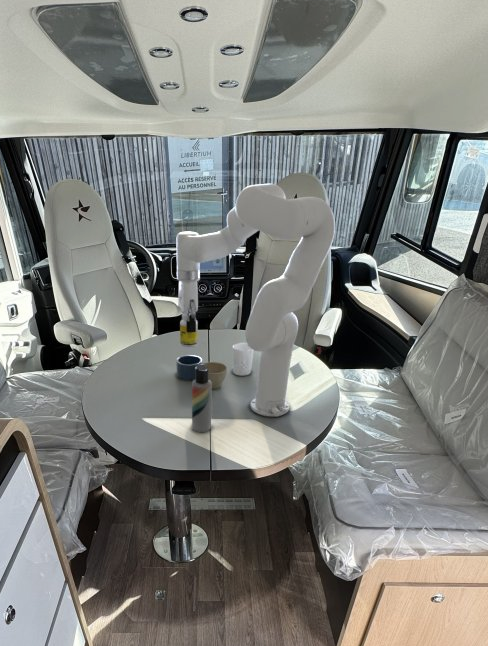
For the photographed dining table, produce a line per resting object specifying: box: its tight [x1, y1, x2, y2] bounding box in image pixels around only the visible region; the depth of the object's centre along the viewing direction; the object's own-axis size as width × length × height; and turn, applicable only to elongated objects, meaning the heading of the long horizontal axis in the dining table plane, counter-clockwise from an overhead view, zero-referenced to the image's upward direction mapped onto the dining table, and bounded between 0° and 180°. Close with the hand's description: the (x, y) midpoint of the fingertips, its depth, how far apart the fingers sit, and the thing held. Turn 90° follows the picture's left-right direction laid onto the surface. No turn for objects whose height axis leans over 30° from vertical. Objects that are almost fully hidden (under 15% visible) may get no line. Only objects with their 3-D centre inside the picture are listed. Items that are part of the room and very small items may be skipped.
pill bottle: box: [179, 312, 199, 348], centre depth 156 cm, size 6×6×11 cm
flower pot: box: [202, 361, 228, 390], centre depth 156 cm, size 10×10×7 cm
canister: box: [175, 354, 203, 381], centre depth 164 cm, size 9×9×6 cm
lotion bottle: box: [191, 363, 213, 433], centre depth 129 cm, size 6×6×20 cm
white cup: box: [232, 342, 255, 377], centre depth 165 cm, size 8×8×10 cm
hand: (188, 328), depth 155 cm, fingers closed on pill bottle, 6 cm apart
